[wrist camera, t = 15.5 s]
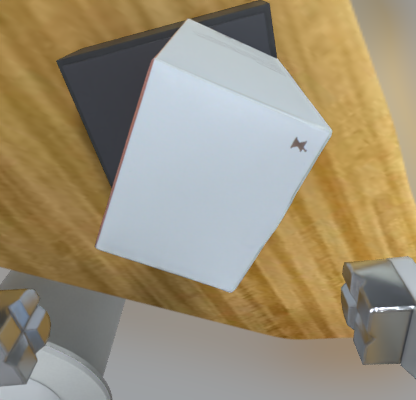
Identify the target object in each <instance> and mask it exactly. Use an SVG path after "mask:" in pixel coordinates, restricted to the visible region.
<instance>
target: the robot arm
mask: <svg viewBox="0 0 416 400" xmlns="http://www.w3.org/2000/svg"><path fill="white" fill-rule="evenodd" d="M342 275H343V277H344V280H345V282H346V283H345V284H344V285H343V286H342V287H341V303H342V310H343V313H344V317H345V320H346V323H347V325H348V326H349V327H351V328H352V329H353V330H354V338H353V341H354V343H355V346H356V349H357V351H358V354H359V356H360V359H361V361H362V364H363V365H369V364H400V363H401V366H402V367H403V368H404V369H405V370H406V371H407V372H408V373H410V374H411V375H412V376H413V377H414V378H415V379H416V264H415V262H414V261H413V259H412V258H410V257H408V256H406V257H396V258H387V259H377V260H366V261H355V262H345V263H344V266H343V273H342ZM39 300H40V297H39V296H38V294H37V292H36V291H35V290H33V289H15V290H0V400H61V399H60V398H59V397H58V396H57V395H56V394H55V393H54V392H53V391H52V390H51V389H49V388H48V387H46V386H44V385H43V384H41V383H39V382H37V381H35V380H32V379H29V378H30V376H31V374H32V372H33V370H34V367H35V365H36V363H37V361H38V360H37V356H36V353H37V352H38V351H39V350H40V349H42V348H43V347H44V346H45V344H46V342H47V340H48V338H49V335H50V327H51V323H50V317H49V315H48V313H47V311H46V310H45V309H43V308H42V307H40V306H39V305H38V303H39Z"/></svg>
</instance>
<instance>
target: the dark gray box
mask: <svg viewBox="0 0 416 400" xmlns="http://www.w3.org/2000/svg"><path fill="white" fill-rule="evenodd" d="M191 20H193V21H195V22H197V23H200V24H202V25H204V26H206V27H209V28H211V29H213V30H215V31H217V32H219V33H221V34H224V35H226V36H228V37H230V38H232V39H234V40H237V41H239V42H241V43H243V44H245V45H248V46H250V47H252V48H254V49H256V50H259V51H261V52H263V53H265V54H267V55H270V56H272V57H274V58H276V59H277V55H276V47H275V40H274V33H273V26H272V18H271V11H270V4H269V3H268V2H265V1H262V0H258V1H254V2H251V3H247V4H243V5H240V6H236V7H232V8H229V9H225V10H221V11H218V12H214V13H210V14H207V15H203V16H199V17H196V18H192V19H191ZM185 21H186V20H185ZM185 21H181V22H177V23H174V24H170V25H166V26H163V27H159V28H155V29H152V30H148V31H144V32H141V33H137V34H133V35H130V36H126V37H122V38H119V39H115V40H111V41H108V42H104V43H101V44H97V45H93V46H90V47H86V48H82V49H80V50H78V51H75V52H73V53H71V54H69V55H67V56H65V57H63V58H61V59H59V60H57V61H56V62H57V64H58V66H59V69H60V71H61V73H62V75H63V78H64V80H65V82H66V85H67V87H68V89H69V91H70V94H71V96H72V98H73V101H74V103H75V105H76V108H77V110H78V112H79V114H80V117H81V119H82V121H83V124H84V126H85V128H86V130H87V133H88V135H89V137H90V140H91V142H92V144H93V147H94V149H95V151H96V153H97V156H98V158H99V160H100V163H101V165H102V167H103V170H104V172H105V174H106V176H107V179H108V181H109V183H110V186H111V188H112V186H113V183H114V179H115V176H116V173H117V170H118V167H119V163H120V160H121V157H122V153H123V150H124V147H125V143H126V140H127V137H128V133H129V130H130V127H131V123H132V120H133V117H134V114H135V111H136V107H137V104H138V101H139V98H140V94H141V91H142V88H143V85H144V81H145V78H146V75H147V72H148V69H149V66H150V63H151V61H152V59H153V58H154V57H155V56H156V55H157V54H158V53H159V52H160V51H161V49H162V48H163V47H164V46H165V45H166V43H167V42H168V41H169V40H170V39H171V37H172V36H173V35H174V34H175V33H176V31H177V30H178V29H179V28H180V27H181V26H182V24H183V23H184V22H185Z"/></svg>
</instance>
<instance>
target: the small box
mask: <svg viewBox="0 0 416 400" xmlns="http://www.w3.org/2000/svg"><path fill="white" fill-rule="evenodd" d="M331 134H332V130H331V128H330V127H329V126H328V124H327V123H326V122H325V120H324V119H323V118H322V116H321V115H320V114H319V112H318V111H317V110H316V109H315V107H314V106H313V105H312V103H311V102H310V101H309V99H308V98H307V97H306V96H305V94H304V93H303V91H302V90H301V89H300V87H299V86H298V85H297V83H296V82H295V81H294V79H293V78H292V76H291V75H290V74H289V72H288V71H287V70H286V69H285V68H284V66H283V65H282V64H281V62H280V61H279V60H278V59H276V58H274V57H272V56H270V55H267V54H265V53H263V52H261V51H259V50H256V49H254V48H252V47H250V46H248V45H245V44H243V43H241V42H239V41H237V40H234V39H232V38H230V37H228V36H226V35H224V34H221V33H219V32H217V31H215V30H213V29H211V28H209V27H206V26H204V25H202V24H200V23H197V22H195V21H193V20H191V19H187V20H186V21H185V22H184V23H183V24H182V26H181V27H180V28H179V29H178V30H177V31H176V33H175V34H174V35H173V36H172V37H171V39H170V40H169V41H168V42H167V43H166V45H165V46H164V47H163V48H162V49H161V51H160V52H159V53H158V54H157V55H156V56H155V57H154V58H153V59H152V61H151V63H150V66H149V69H148V72H147V75H146V78H145V81H144V85H143V88H142V91H141V94H140V98H139V101H138V104H137V107H136V111H135V114H134V117H133V120H132V123H131V127H130V130H129V133H128V137H127V140H126V143H125V147H124V150H123V153H122V157H121V160H120V163H119V167H118V170H117V173H116V176H115V179H114V183H113V186H112V190H111V193H110V197H109V200H108V204H107V207H106V210H105V213H104V216H103V219H102V223H101V226H100V230H99V233H98V237H97V240H96V244H95V247H96V248H97V249H99V250H101V251H105V252H108V253H111V254H114V255H117V256H120V257H123V258H126V259H130V260H133V261H136V262H139V263H142V264H145V265H148V266H151V267H154V268H157V269H160V270H163V271H166V272H170V273H173V274H176V275H179V276H182V277H185V278H188V279H191V280H194V281H197V282H200V283H203V284H206V285H209V286H212V287H215V288H219V289H221V290H224V291H227V292H231V293H232V292H233V291H234V290H235V289H236V288H237V286H238V285H239V283H240V282H241V280H242V279H243V277H244V276H245V274H246V273H247V271H248V270H249V268H250V267H251V265H252V264H253V262H254V260H255V259H256V257H257V256H258V254H259V252H260V251H261V249H262V248H263V246H264V245H265V243H266V242H267V240H268V239H269V238H270V236H271V235H272V234H273V232H274V231H275V230H276V228H277V227H278V225H279V223H280V222H281V220H282V219H283V217H284V215H285V213H286V212H287V210H288V208H289V206H290V205H291V203H292V200H293V198H294V197H295V195H296V193H297V191H298V190H299V188H300V186H301V185H302V183H303V181H304V180H305V178H306V176H307V175H308V173H309V172H310V170H311V168H312V166H313V165H314V163H315V161H316V160H317V158H318V156H319V155H320V153H321V152H322V150H323V148H324V147H325V145H326V143H327V142H328V140H329V139H330V137H331Z"/></svg>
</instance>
